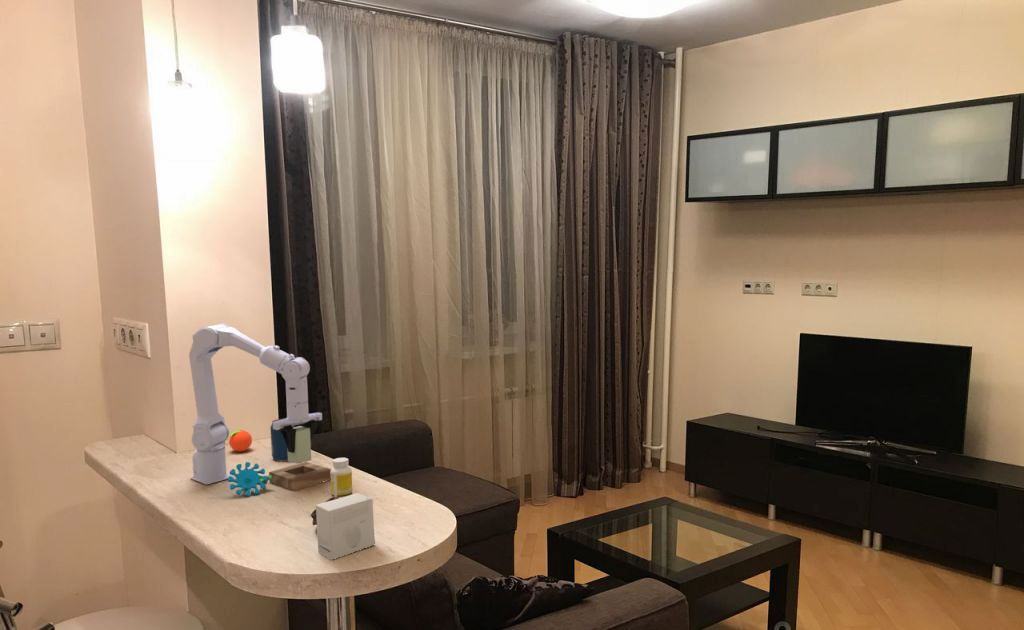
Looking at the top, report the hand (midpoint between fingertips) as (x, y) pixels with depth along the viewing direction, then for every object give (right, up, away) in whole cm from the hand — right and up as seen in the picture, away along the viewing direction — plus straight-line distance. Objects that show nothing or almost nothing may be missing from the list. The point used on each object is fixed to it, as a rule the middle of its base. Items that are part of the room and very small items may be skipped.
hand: (299, 450), depth 195 cm
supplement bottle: (+15, -10, -13) cm, 22 cm away
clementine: (-29, -7, +33) cm, 44 cm away
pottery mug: (+19, -12, -33) cm, 40 cm away
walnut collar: (0, -9, +1) cm, 9 cm away
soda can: (-12, -7, +24) cm, 28 cm away
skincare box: (+24, -13, -46) cm, 53 cm away
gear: (-11, -10, -8) cm, 17 cm away
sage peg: (0, -3, 0) cm, 3 cm away
